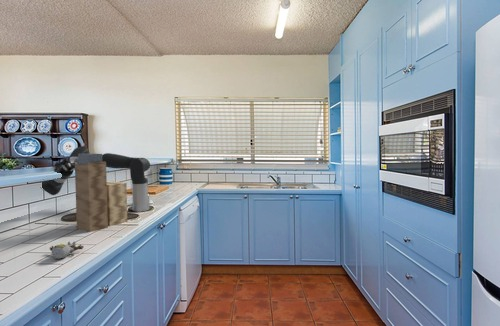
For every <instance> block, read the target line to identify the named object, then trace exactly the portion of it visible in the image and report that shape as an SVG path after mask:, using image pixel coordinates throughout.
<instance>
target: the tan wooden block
mask: <svg viewBox="0 0 500 326" xmlns="http://www.w3.org/2000/svg"><path fill="white" fill-rule="evenodd" d="M127 193H128V189H127V182H121V181H120V182H119V181H107V218H108V226H110V227H112V226H116V225H118V224H124V223H128V195H127Z"/></svg>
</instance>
